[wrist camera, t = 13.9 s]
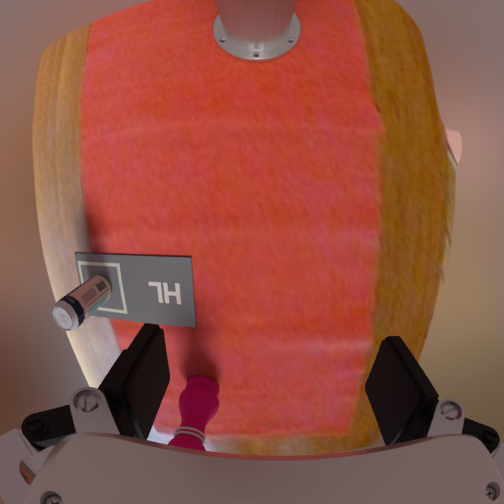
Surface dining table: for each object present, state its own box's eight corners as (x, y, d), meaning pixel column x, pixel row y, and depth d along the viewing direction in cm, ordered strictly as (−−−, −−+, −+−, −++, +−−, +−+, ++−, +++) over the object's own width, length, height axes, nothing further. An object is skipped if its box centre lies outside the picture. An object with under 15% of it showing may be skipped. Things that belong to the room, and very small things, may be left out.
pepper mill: (179, 388, 48) (151, 469, 29) (193, 367, 46) (164, 455, 27) (212, 403, 49) (195, 486, 29) (228, 383, 47) (214, 473, 28)
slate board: (75, 253, 41) (74, 253, 40) (191, 257, 40) (191, 257, 40) (87, 313, 44) (86, 314, 44) (196, 327, 43) (196, 327, 43)
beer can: (89, 271, 41) (48, 300, 30) (112, 276, 41) (71, 308, 30) (92, 296, 42) (53, 328, 31) (113, 302, 42) (77, 337, 31)
